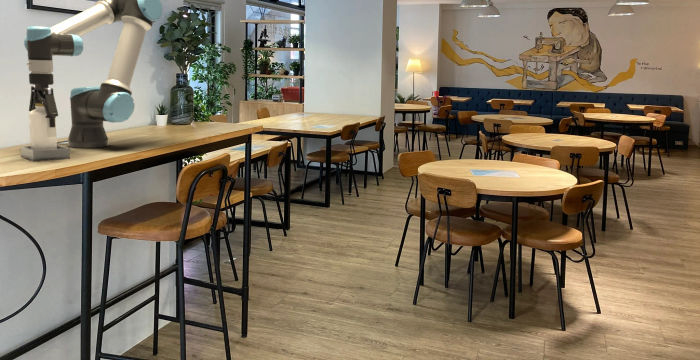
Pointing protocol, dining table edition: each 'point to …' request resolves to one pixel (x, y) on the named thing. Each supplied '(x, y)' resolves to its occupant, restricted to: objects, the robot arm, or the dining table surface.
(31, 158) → the grey square tray
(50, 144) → the potion bottle
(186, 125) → the dining table surface
